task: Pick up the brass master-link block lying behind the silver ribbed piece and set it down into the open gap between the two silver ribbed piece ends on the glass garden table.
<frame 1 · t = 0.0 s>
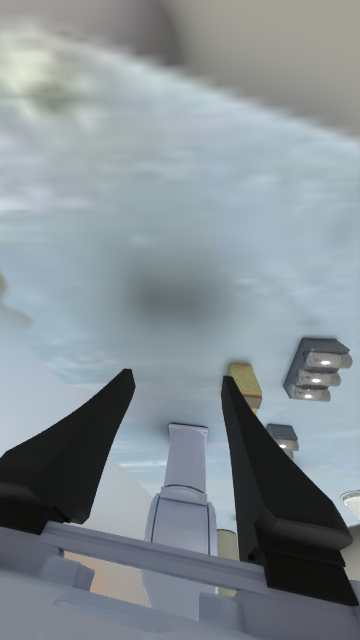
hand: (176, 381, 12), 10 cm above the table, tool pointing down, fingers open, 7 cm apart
travel mug: (225, 531, 63), on the table
silver ribbed piece: (287, 408, 26), on the table
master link: (236, 382, 25), on the table
vase: (359, 495, 37), on the table
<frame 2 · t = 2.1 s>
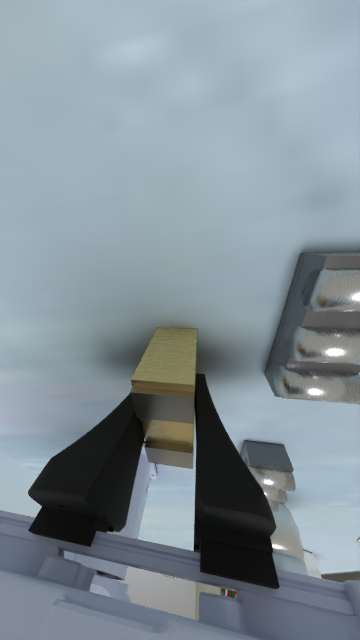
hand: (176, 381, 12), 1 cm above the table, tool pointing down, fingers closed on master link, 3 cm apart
plastic bottle: (262, 496, 23), on the table
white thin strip: (289, 549, 34), on the table
travel mug: (208, 561, 52), on the table
silver ribbed piece: (275, 414, 14), on the table
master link: (178, 368, 13), on the table, touching gripper
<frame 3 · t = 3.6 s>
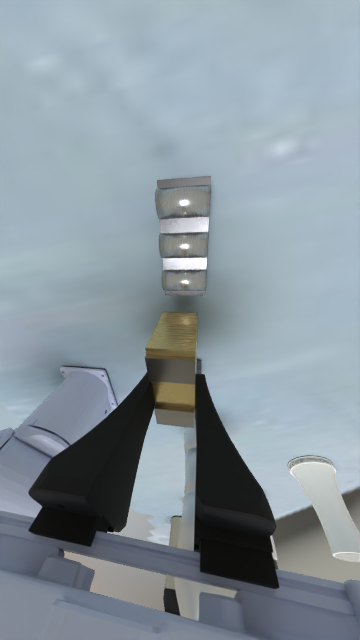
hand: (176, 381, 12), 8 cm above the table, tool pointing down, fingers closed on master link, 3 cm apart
plastic bottle: (203, 422, 28), on the table
travel mug: (182, 518, 57), on the table
silver ribbed piece: (186, 328, 20), on the table
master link: (181, 348, 15), point 5 cm above the table, touching gripper
vase: (308, 464, 30), on the table
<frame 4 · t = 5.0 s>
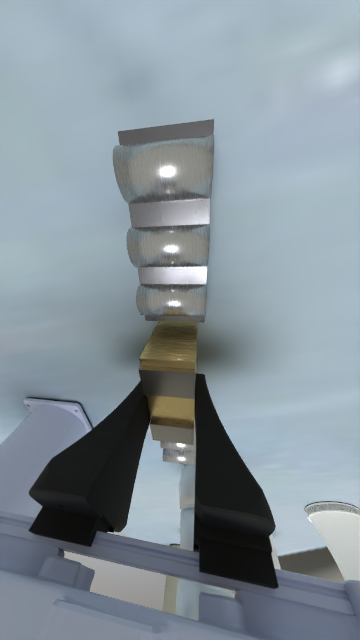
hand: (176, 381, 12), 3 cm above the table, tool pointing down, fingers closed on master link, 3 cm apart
plastic bottle: (203, 462, 23), on the table
travel mug: (181, 546, 52), on the table
silver ribbed piece: (180, 358, 14), on the table
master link: (180, 356, 14), on the table, touching gripper
vase: (329, 508, 25), on the table
when the fingers open (3 cm above the table, at t = 5.0 s): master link stays where it is, on the table.
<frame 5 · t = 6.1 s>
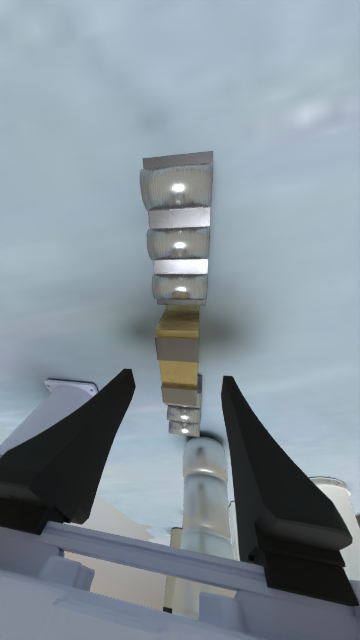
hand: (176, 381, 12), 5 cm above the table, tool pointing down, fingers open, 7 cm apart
plastic bottle: (204, 439, 26), on the table
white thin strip: (246, 506, 37), on the table
travel mug: (182, 530, 54), on the table
silver ribbed piece: (184, 340, 17), on the table
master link: (184, 338, 17), on the table
vase: (319, 484, 28), on the table
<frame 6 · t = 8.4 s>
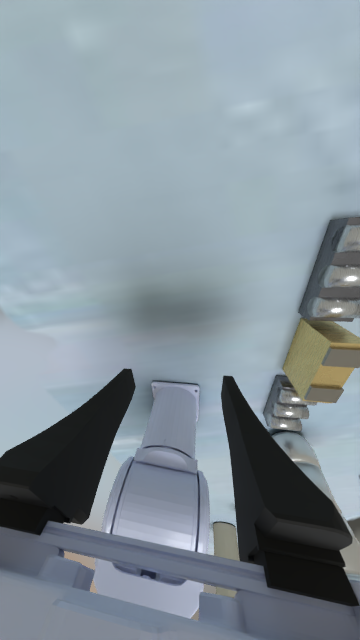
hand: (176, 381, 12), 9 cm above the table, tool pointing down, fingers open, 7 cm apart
plastic bottle: (284, 435, 29), on the table
travel mug: (224, 524, 57), on the table
silver ribbed piece: (302, 348, 20), on the table
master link: (302, 346, 20), on the table
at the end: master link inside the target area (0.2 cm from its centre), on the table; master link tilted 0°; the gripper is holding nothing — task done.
